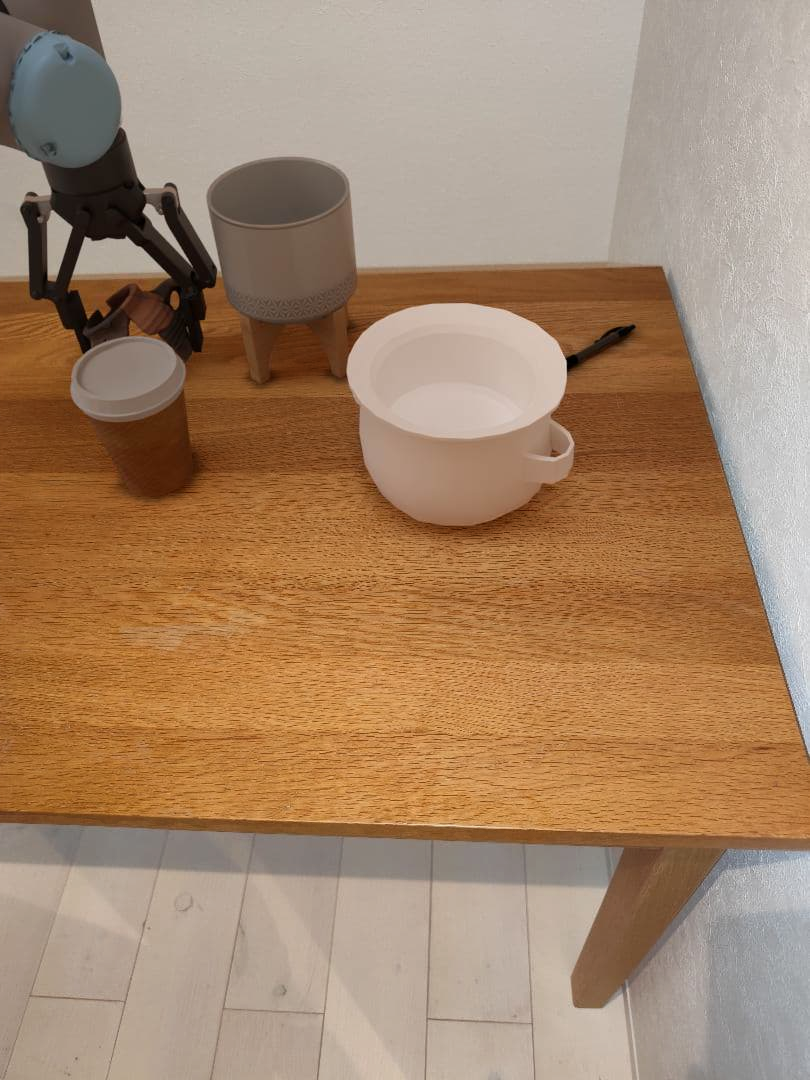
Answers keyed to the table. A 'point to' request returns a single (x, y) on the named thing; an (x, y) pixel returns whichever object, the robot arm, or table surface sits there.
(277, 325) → the planter
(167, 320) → the pottery mug
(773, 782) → the table surface
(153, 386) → the disposable coffee cup
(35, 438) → the table surface
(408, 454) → the pot
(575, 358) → the pen
